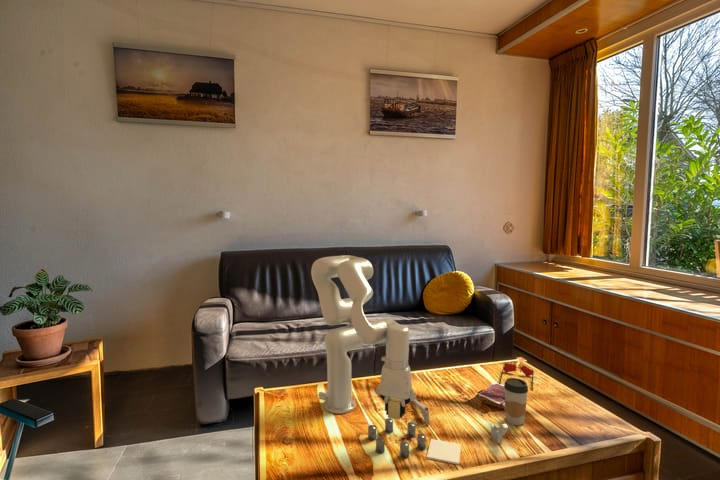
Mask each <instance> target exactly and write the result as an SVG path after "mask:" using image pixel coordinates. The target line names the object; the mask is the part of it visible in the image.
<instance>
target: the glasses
mask: <svg viewBox="0 0 720 480" xmlns="http://www.w3.org/2000/svg"><path fill="white" fill-rule="evenodd" d="M517 367H519V368H518V369H519V372H520V373H523V374H524V376H526V377H530V376H531V391H532V392H533V391H534V375H535V374H534V373H535V372H534V370H533V368H532V367H530V366H525V365H522V366H520V365H518V364H514V363H513V364H512V363H504V365H503V368H502V370H501V374H500V377H499V383H498V385H499V384H500V385H501V383H502V378H503V374H504V373H511V372H517Z"/></svg>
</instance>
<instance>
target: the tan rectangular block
mask: <svg viewBox="0 0 720 480" xmlns="http://www.w3.org/2000/svg"><path fill="white" fill-rule="evenodd" d="M400 406H401V399H398V398H392V397H390V398H389V401H388V415H387V418H391V419H393V420H397V421H398V420H399V421H400V420H401V418H400Z"/></svg>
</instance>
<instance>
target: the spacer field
mask: <svg viewBox="0 0 720 480" xmlns="http://www.w3.org/2000/svg"><path fill="white" fill-rule="evenodd" d="M406 431H407V433H406V435H407V437H409V438H411V439H413V438H416V423H415V422H413V421H409V422H407V429H406ZM393 432H394V419H392V418H388V417H387V418H385V419H384V433H386V434H393ZM367 439H368V440H369V441H371V442H373V441H375V452H376V453H377V454H380V455H381V454H384V453H385V450H386V447H385V444H386V443H385V441H386V440H385V437H383V436H378V437H377V426H376V425H374V424H370V425H368V427H367ZM416 441H417V442H416V447H417V450H420V451H425V450H426V447H427V445H426V444H427V436H426V434H425V433H419V434H417V439H416ZM399 443H400V444H399V448H400V449H399V457H400V458H401V459H405V460H406V459H408V458H409V457H410V444H409V442H407V441H404V440H403V441H401V442H399Z"/></svg>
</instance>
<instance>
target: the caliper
mask: <svg viewBox="0 0 720 480" xmlns="http://www.w3.org/2000/svg"><path fill="white" fill-rule="evenodd" d="M411 402H412V403H413V404H414V405H415V406H416V407H417V409H418V410H419V411H420V414H422V415H423V420H424V421H423V422H424V423H425V425H426V426H428V425H430V412H429V407H428V406H425V405H422V404H421V403H420V402H419V401H418V399H417V398H416V399H415V400H413V401H411Z"/></svg>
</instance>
